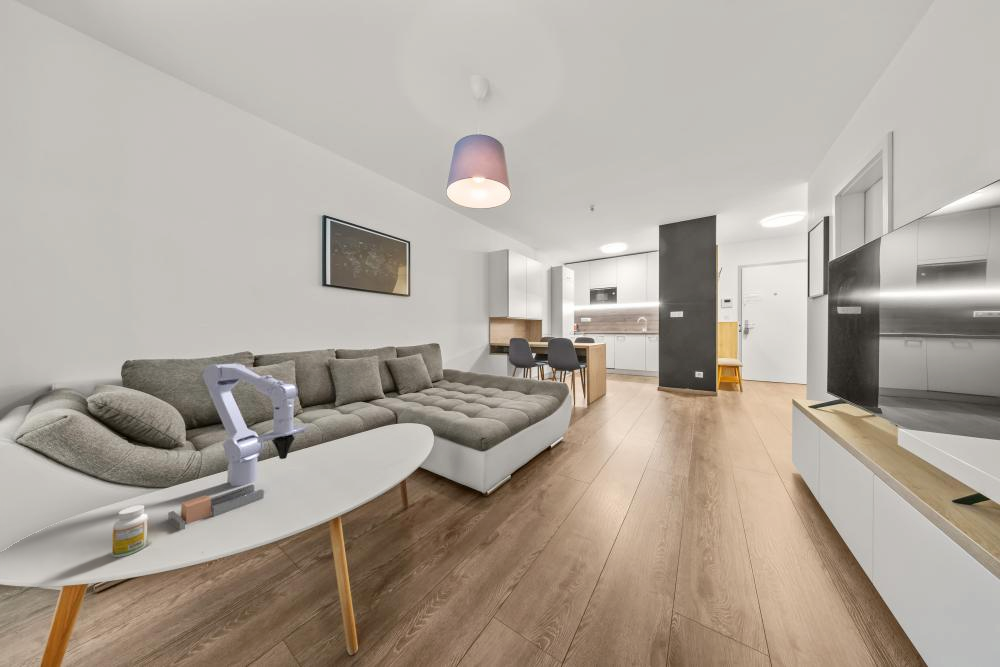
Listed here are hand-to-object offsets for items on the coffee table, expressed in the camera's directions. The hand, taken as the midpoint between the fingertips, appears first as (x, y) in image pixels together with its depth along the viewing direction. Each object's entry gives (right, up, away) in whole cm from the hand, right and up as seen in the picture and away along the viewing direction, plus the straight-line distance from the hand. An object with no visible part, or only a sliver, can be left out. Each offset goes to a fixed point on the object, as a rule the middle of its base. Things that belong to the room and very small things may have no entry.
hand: (282, 458), depth 107 cm
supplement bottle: (-14, -9, -33) cm, 37 cm away
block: (-10, -8, -21) cm, 24 cm away
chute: (-6, -9, -15) cm, 19 cm away
